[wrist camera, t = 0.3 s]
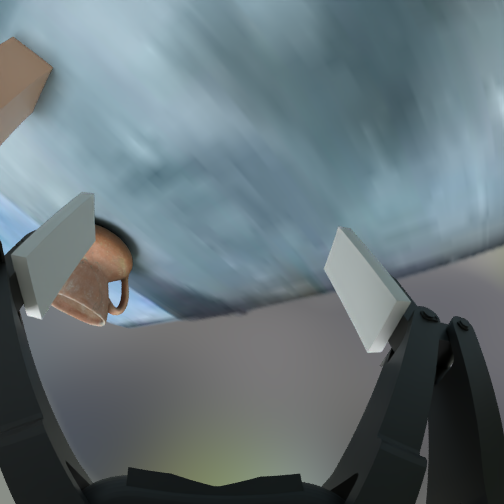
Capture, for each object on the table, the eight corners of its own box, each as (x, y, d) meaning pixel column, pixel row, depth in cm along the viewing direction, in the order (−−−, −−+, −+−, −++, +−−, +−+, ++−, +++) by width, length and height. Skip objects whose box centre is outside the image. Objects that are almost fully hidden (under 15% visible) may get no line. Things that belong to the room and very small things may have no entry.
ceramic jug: (52, 223, 46) (20, 289, 38) (85, 197, 39) (44, 278, 31) (118, 272, 58) (97, 334, 50) (162, 260, 51) (139, 334, 43)
